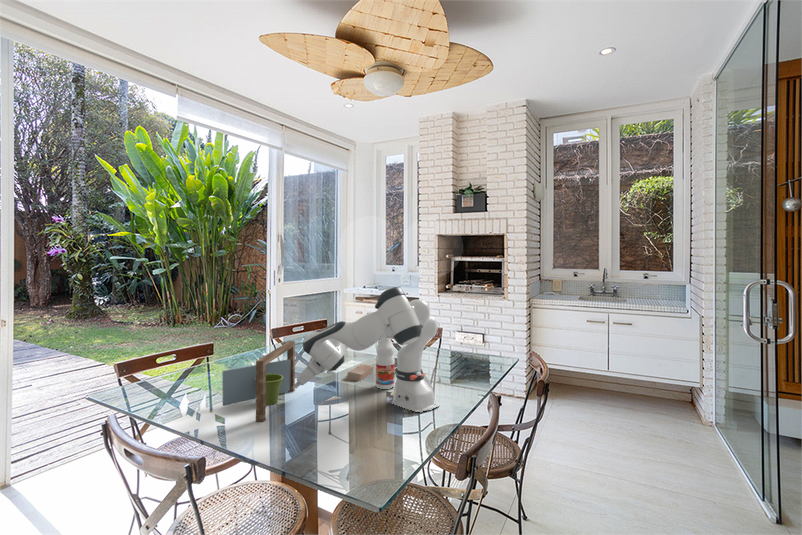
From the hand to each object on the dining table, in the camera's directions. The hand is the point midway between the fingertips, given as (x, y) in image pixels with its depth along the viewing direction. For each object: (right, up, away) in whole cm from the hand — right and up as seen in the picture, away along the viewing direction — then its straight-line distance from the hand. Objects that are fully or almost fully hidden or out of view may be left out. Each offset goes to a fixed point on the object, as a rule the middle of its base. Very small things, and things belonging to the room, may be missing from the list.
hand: (298, 383), depth 171 cm
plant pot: (-13, -9, -1) cm, 16 cm away
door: (-20, -7, +3) cm, 21 cm away
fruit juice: (+38, -9, +22) cm, 44 cm away
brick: (+24, -8, +39) cm, 46 cm away
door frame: (-9, -9, -3) cm, 12 cm away
